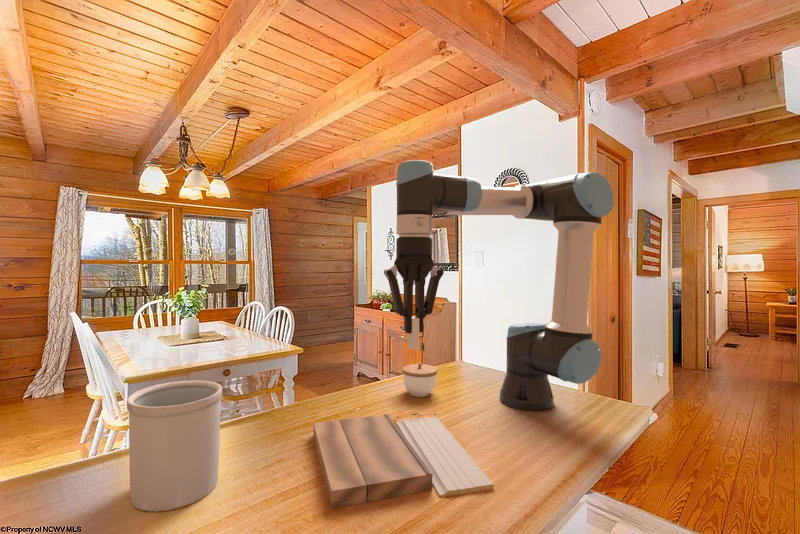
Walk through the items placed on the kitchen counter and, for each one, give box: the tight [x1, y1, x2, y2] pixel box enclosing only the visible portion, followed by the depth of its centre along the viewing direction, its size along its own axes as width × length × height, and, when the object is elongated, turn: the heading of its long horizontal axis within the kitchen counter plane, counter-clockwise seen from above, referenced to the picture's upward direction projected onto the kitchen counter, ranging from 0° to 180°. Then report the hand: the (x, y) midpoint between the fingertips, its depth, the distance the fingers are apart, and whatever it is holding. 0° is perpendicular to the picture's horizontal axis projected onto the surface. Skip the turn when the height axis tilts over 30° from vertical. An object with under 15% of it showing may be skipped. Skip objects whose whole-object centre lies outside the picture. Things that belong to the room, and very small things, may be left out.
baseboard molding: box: [394, 412, 495, 498], centre depth 86 cm, size 31×3×12 cm
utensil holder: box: [126, 380, 223, 512], centre depth 71 cm, size 15×15×18 cm
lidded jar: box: [402, 362, 438, 398], centre depth 123 cm, size 11×11×9 cm
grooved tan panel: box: [313, 413, 433, 509], centre depth 83 cm, size 18×28×3 cm, turn 18°
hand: (413, 347), depth 84 cm, fingers closed
